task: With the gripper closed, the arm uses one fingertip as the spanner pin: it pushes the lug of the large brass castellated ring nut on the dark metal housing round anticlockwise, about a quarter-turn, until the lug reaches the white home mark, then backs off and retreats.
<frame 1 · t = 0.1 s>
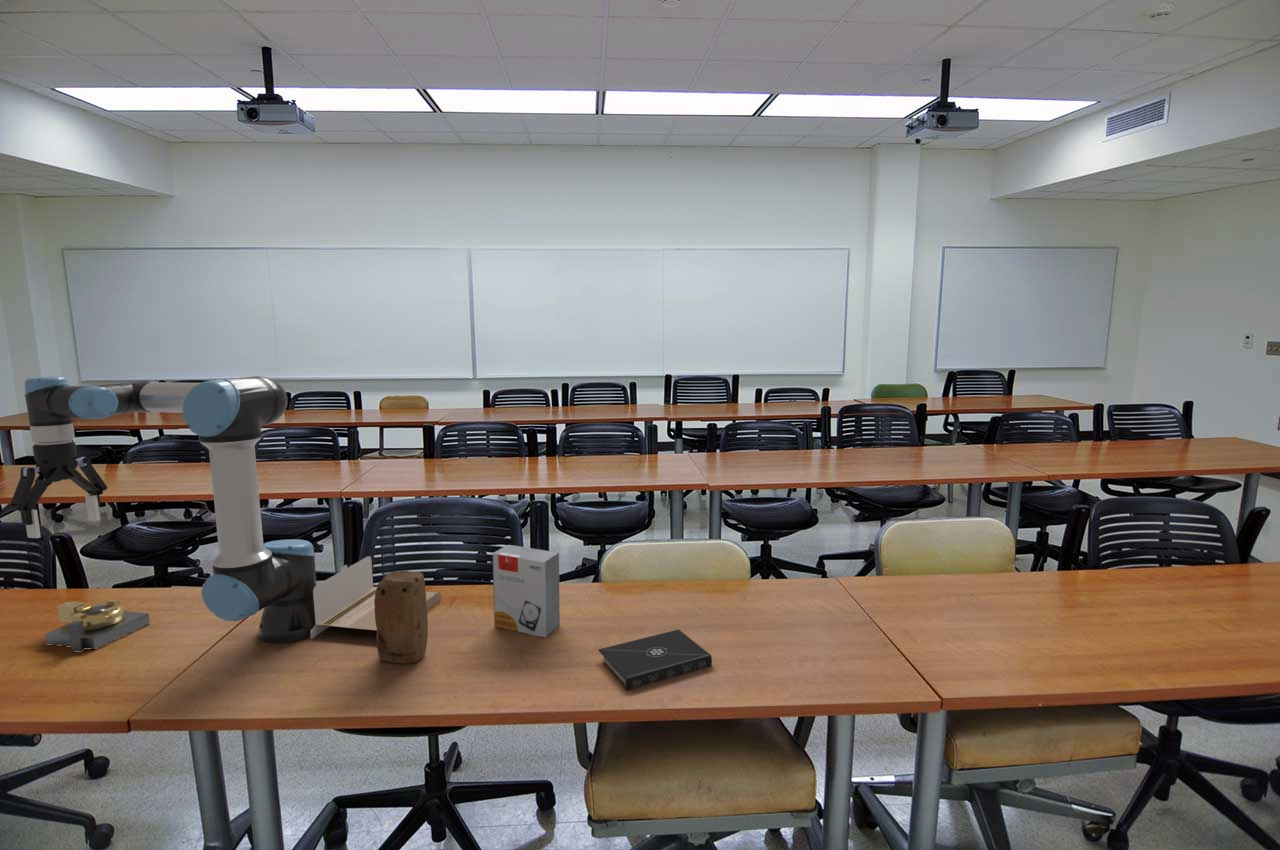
hand: (65, 528, 153), 28 cm above the table, fingers open, 13 cm apart
book: (654, 665, 145), on the table
block: (403, 658, 147), on the table
box: (380, 620, 168), on the table
housing: (100, 634, 159), on the table
hard drive box: (527, 627, 163), on the table
ring nut: (89, 613, 158), point 5 cm above the table, hinge at 0.0°
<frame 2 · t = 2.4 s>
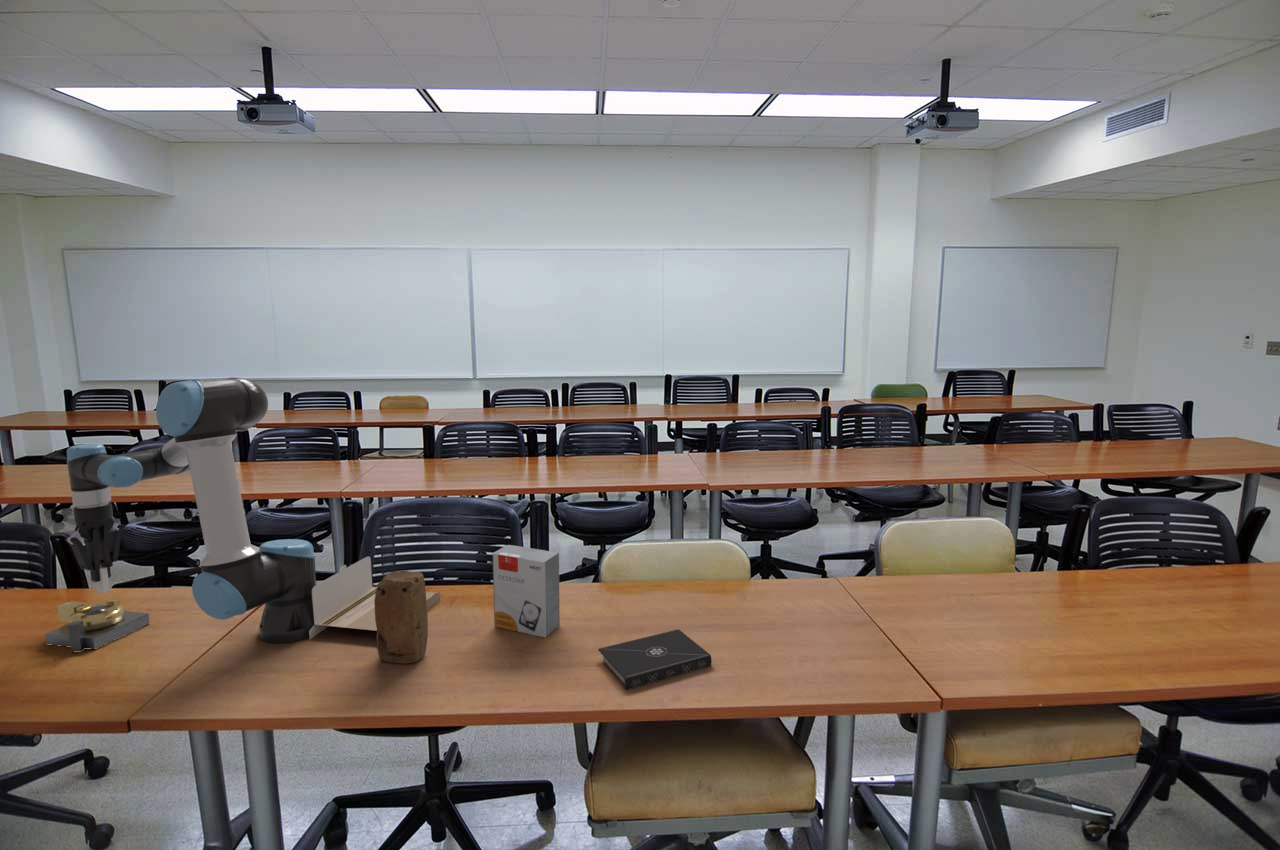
hand: (102, 591, 166), 8 cm above the table, fingers closed
nothing on the table moved.
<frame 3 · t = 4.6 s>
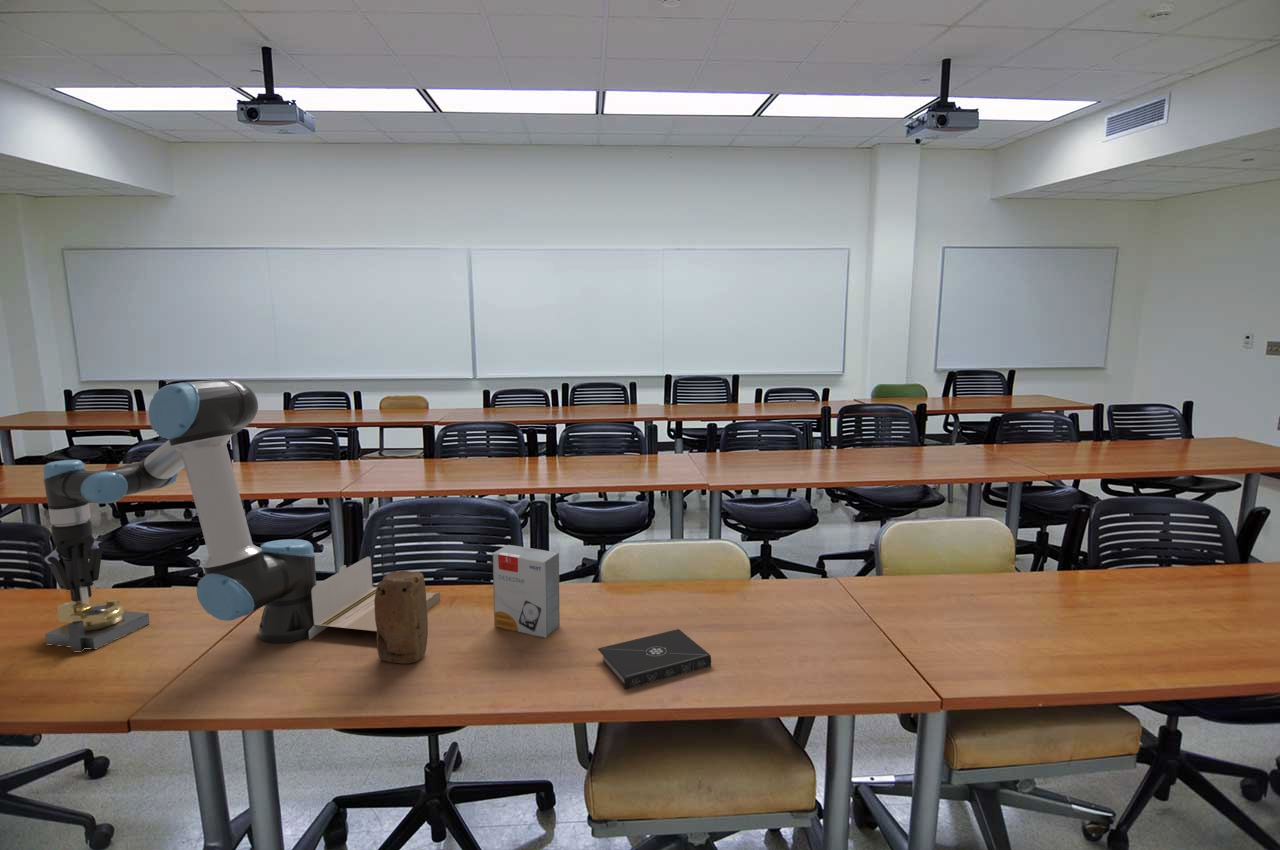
hand: (83, 611, 161), 4 cm above the table, fingers closed
ring nut: (89, 613, 158), point 5 cm above the table, hinge at 0.5°, touching gripper
everything else where it was.
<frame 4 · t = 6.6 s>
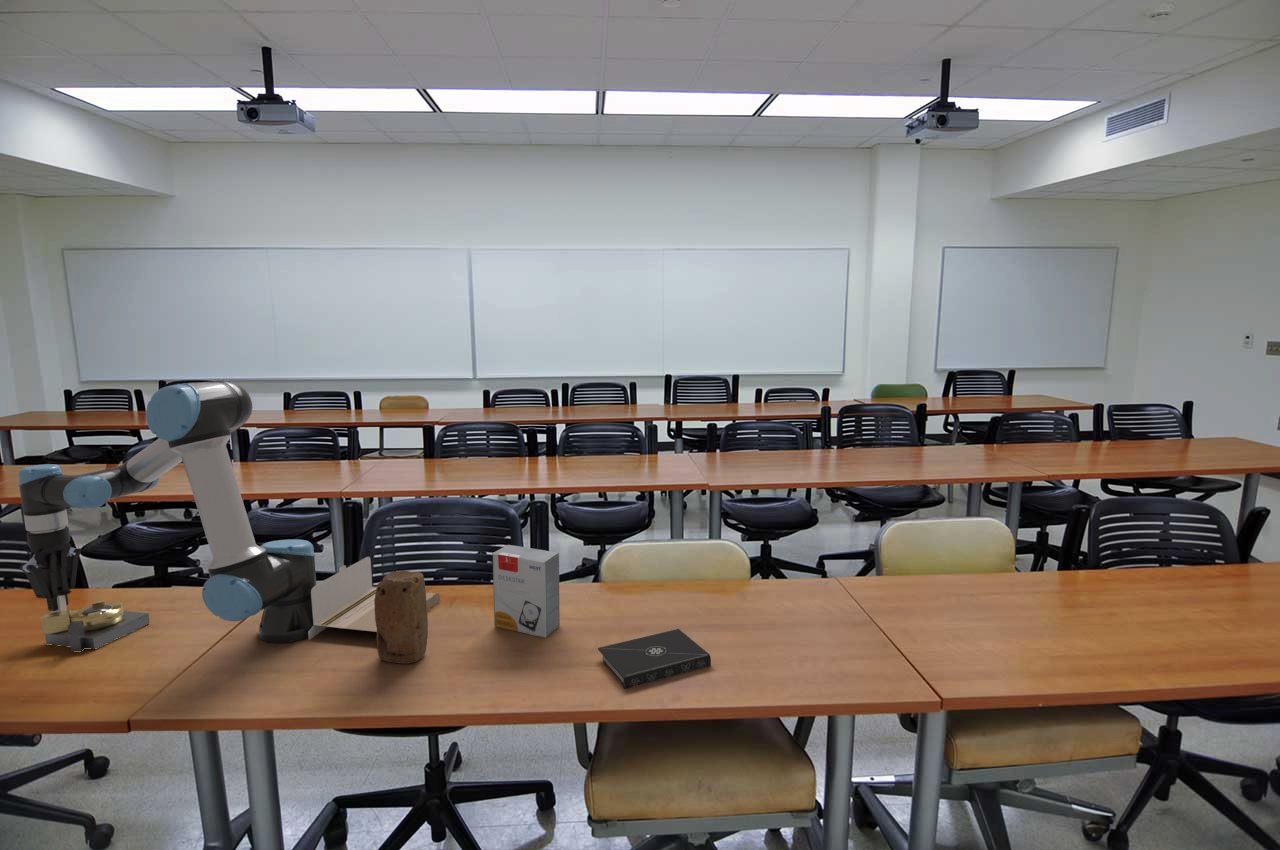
hand: (60, 620, 156), 4 cm above the table, fingers closed
ring nut: (84, 616, 156), point 5 cm above the table, hinge at 45.3°, touching gripper
everything else where it was.
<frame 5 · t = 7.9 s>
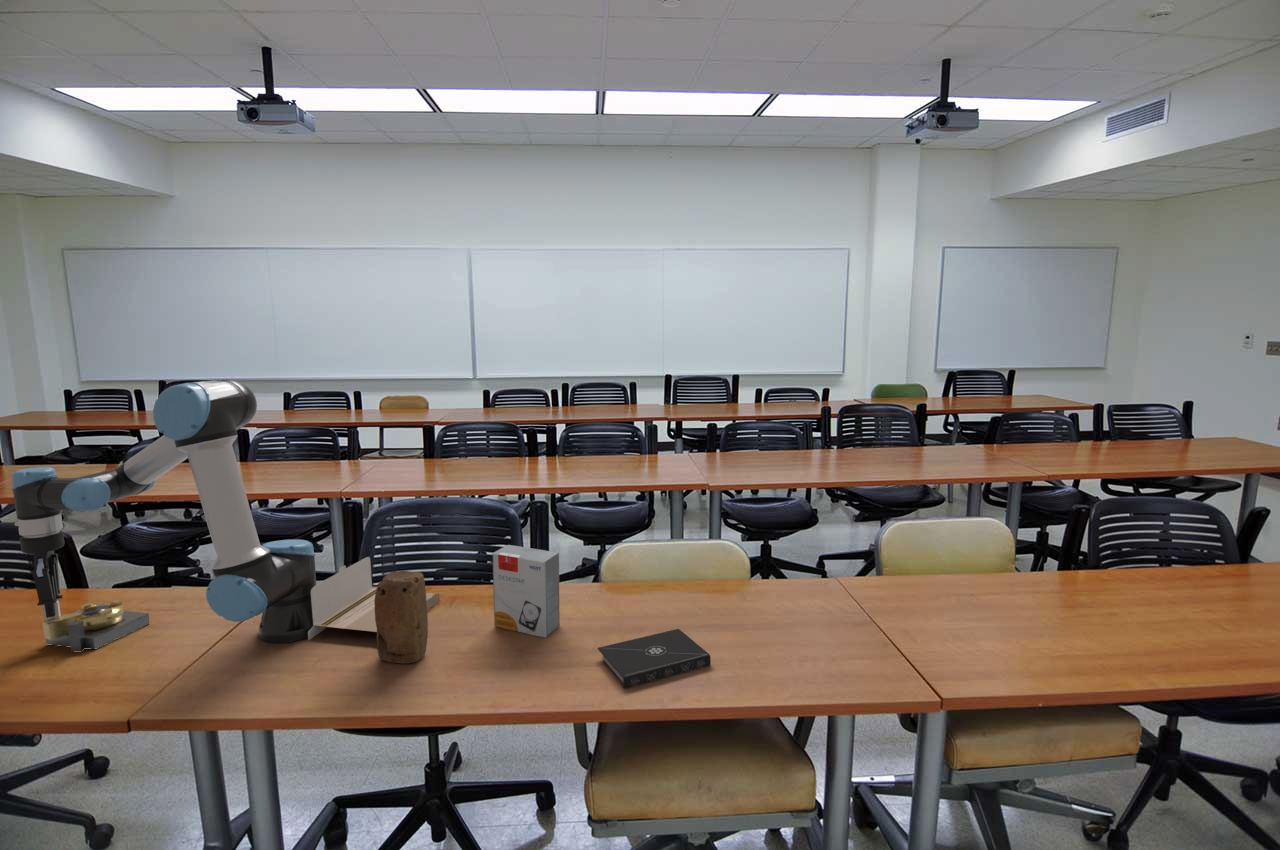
hand: (53, 627, 152), 4 cm above the table, fingers closed
ring nut: (85, 618, 156), point 5 cm above the table, hinge at 74.0°, touching gripper
everything else where it was.
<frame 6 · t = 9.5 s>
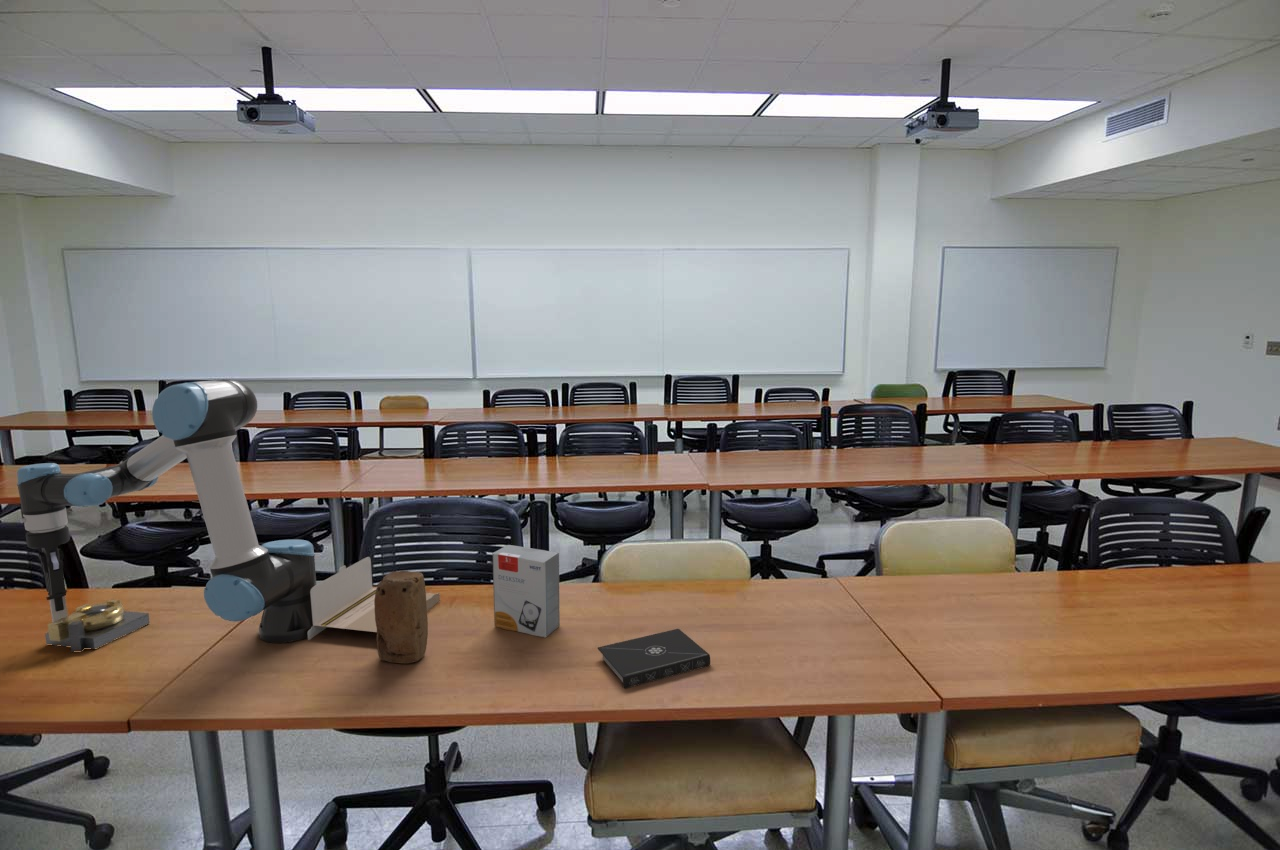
hand: (60, 621, 154), 5 cm above the table, fingers closed
ring nut: (87, 618, 155), point 5 cm above the table, hinge at 89.4°
everything else where it was.
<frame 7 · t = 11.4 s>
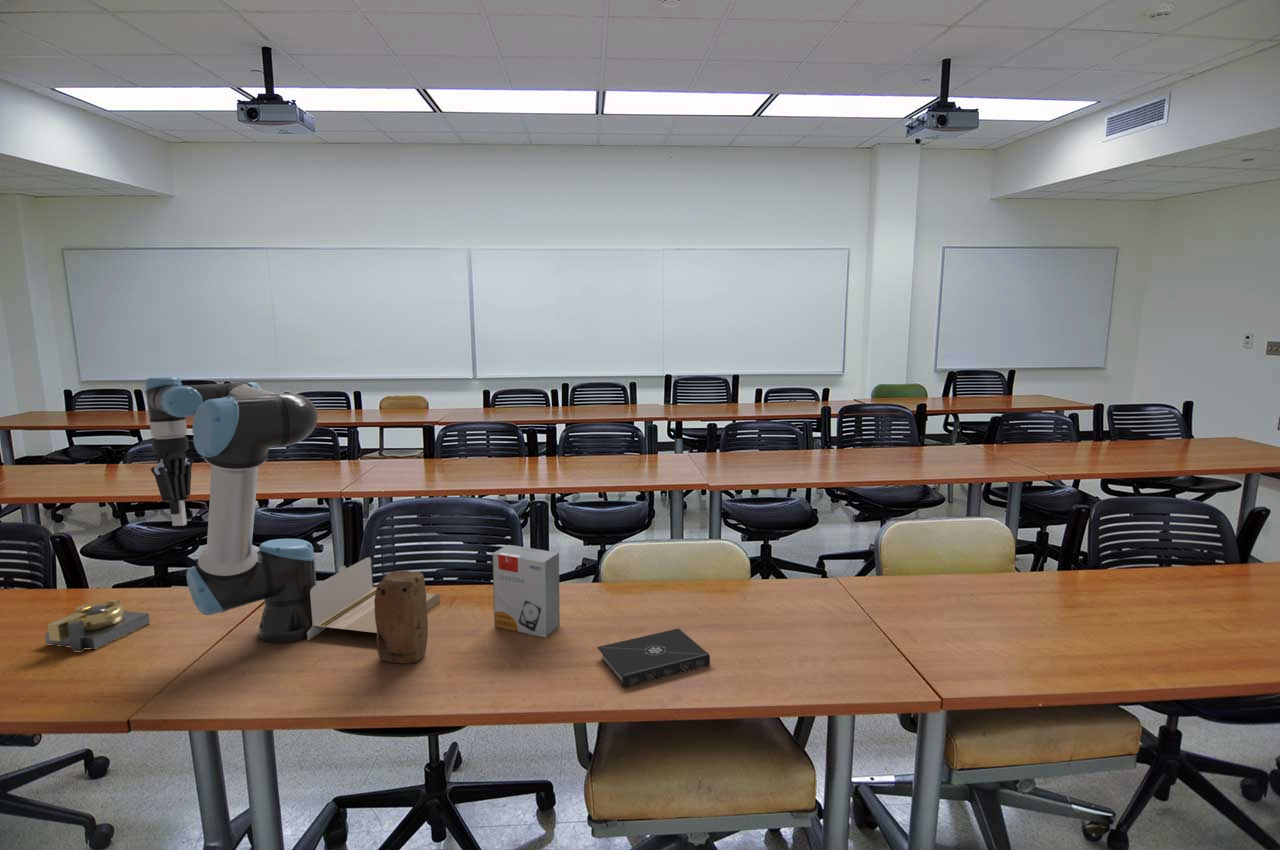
hand: (179, 524, 167), 25 cm above the table, fingers closed
nothing on the table moved.
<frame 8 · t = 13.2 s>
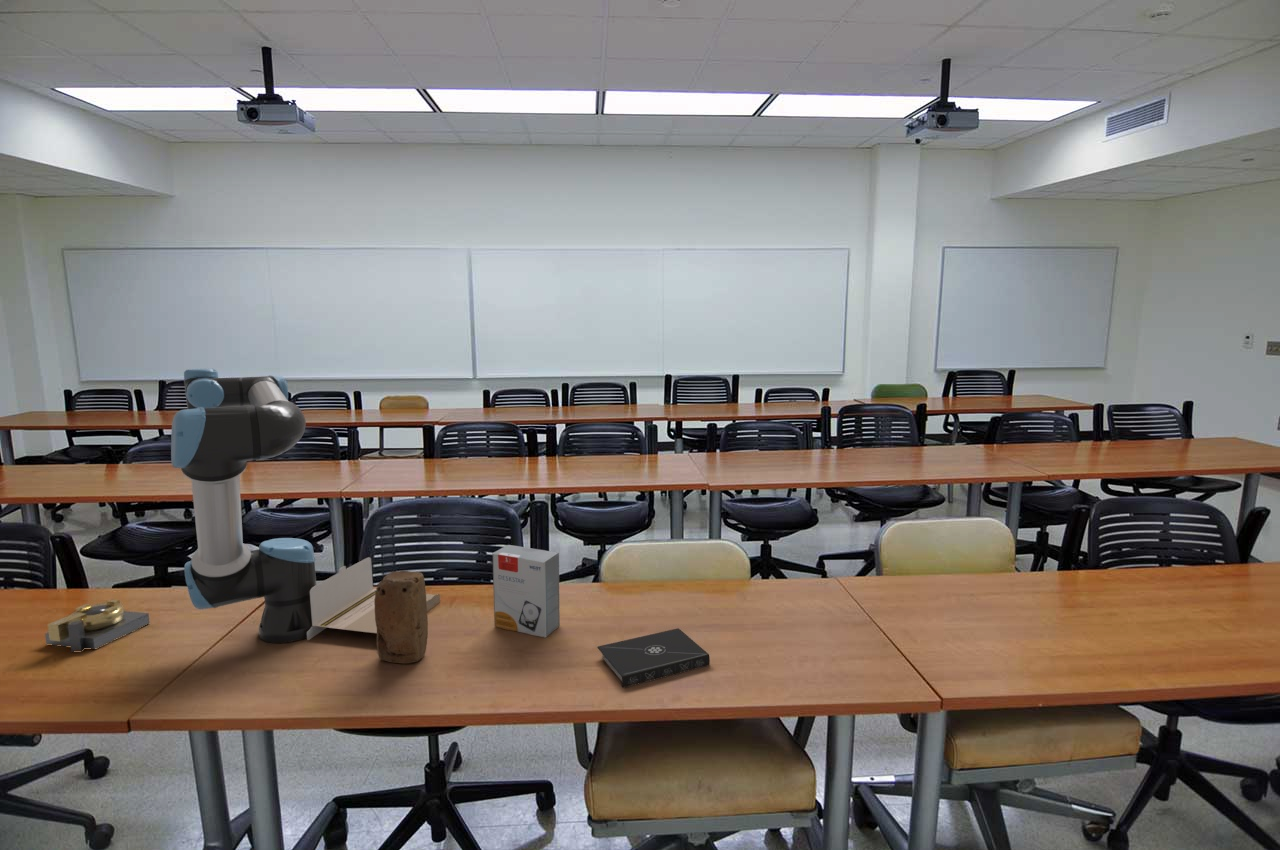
hand: (214, 512, 172), 26 cm above the table, fingers closed
at the end: ring nut at +89° (first picture: +0°) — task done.
